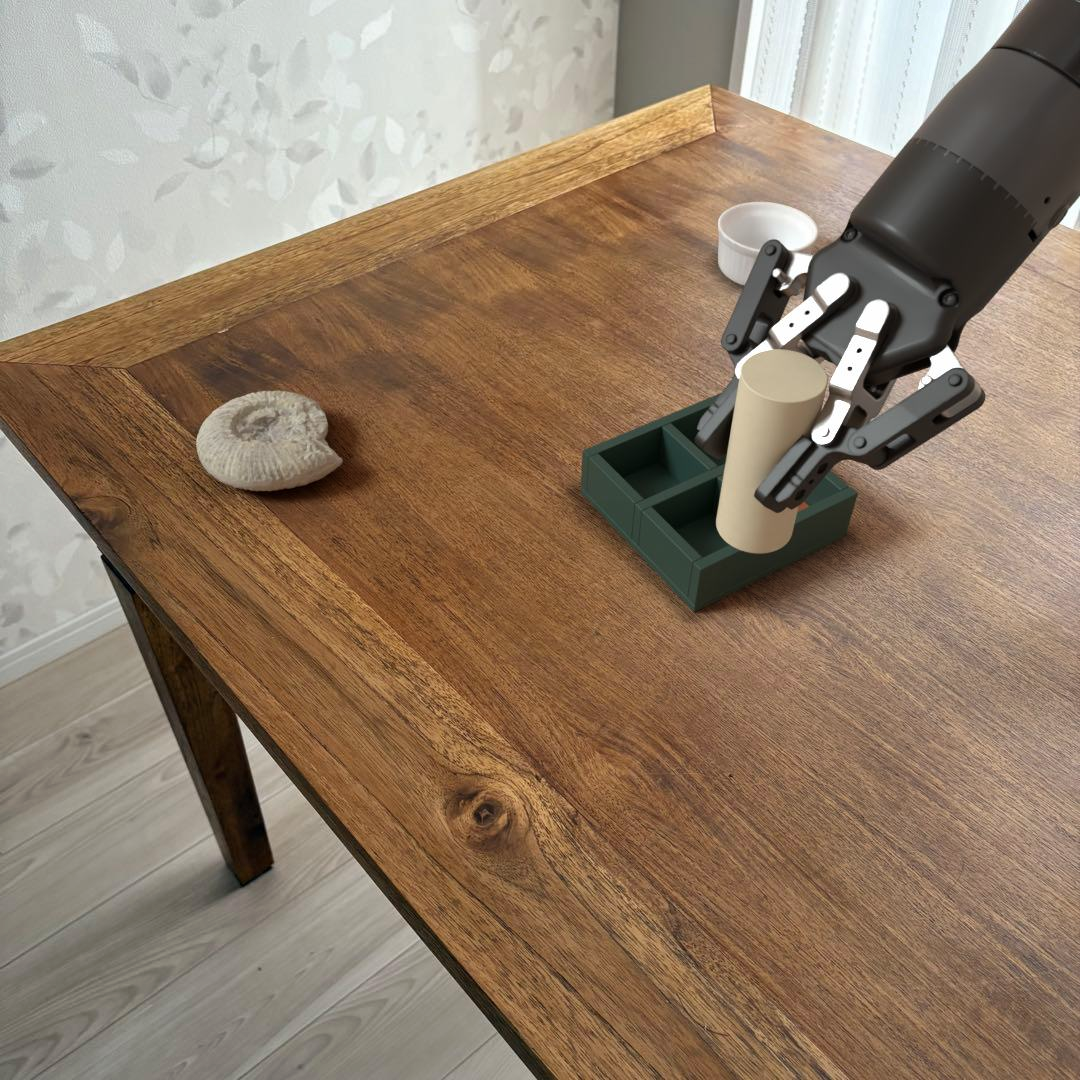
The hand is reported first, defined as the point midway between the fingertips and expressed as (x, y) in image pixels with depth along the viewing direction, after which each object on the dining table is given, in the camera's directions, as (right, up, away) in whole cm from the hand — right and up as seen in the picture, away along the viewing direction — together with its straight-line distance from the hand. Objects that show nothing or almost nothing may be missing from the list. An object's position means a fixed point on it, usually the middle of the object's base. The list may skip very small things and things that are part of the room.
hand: (736, 476), depth 55 cm
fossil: (-30, +3, +28) cm, 41 cm away
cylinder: (+2, -2, +4) cm, 5 cm away
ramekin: (+11, +22, +47) cm, 53 cm away
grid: (+2, -1, +24) cm, 25 cm away
